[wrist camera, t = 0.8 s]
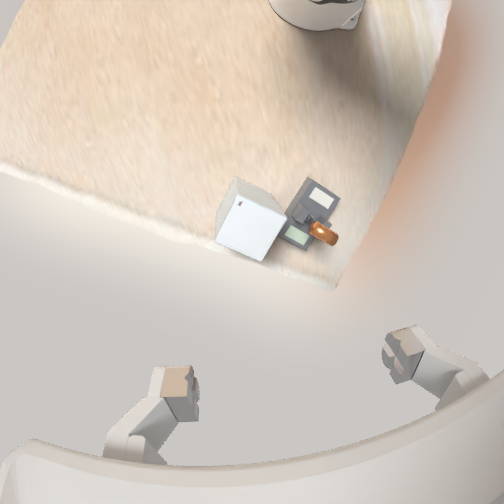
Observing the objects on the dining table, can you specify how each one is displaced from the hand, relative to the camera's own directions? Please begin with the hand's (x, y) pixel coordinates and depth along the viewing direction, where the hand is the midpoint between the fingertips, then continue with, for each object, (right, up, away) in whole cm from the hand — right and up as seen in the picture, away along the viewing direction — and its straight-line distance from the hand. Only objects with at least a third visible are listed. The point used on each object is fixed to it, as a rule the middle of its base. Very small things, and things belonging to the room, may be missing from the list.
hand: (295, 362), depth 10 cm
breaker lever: (+8, +10, +34) cm, 36 cm away
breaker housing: (+8, +12, +38) cm, 40 cm away
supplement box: (-3, +13, +37) cm, 39 cm away
